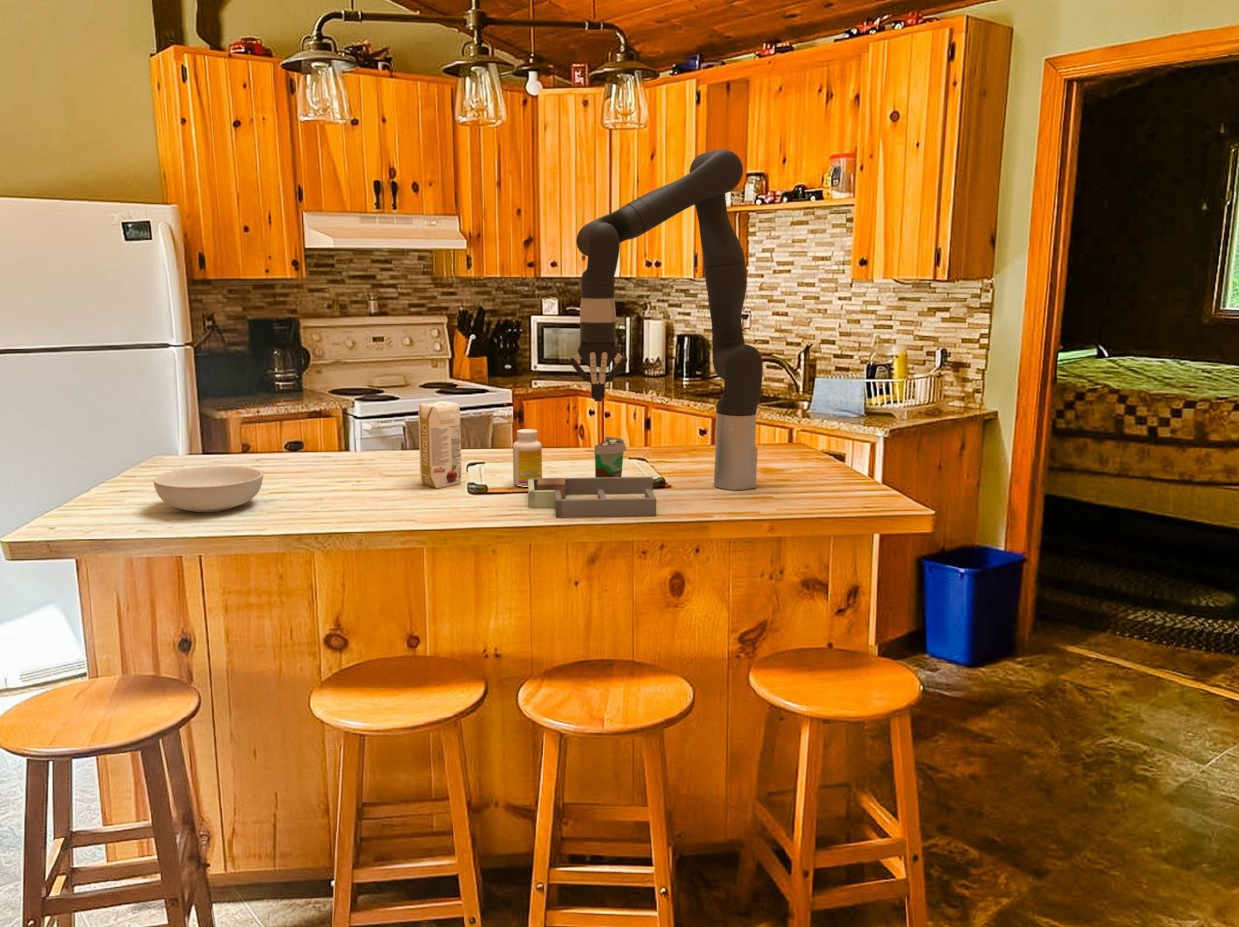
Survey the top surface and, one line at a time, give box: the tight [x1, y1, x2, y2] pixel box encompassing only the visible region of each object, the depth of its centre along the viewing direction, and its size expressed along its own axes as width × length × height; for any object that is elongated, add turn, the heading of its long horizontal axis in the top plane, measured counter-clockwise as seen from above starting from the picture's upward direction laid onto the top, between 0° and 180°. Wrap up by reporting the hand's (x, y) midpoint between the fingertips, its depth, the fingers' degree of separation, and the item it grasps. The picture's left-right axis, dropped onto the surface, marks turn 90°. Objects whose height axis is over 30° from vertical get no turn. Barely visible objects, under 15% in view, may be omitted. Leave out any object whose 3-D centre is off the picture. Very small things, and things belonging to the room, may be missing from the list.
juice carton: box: [417, 400, 462, 489], centre depth 219 cm, size 8×9×19 cm
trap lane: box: [527, 476, 658, 518], centre depth 204 cm, size 28×21×4 cm
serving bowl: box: [153, 465, 264, 513], centre depth 198 cm, size 21×21×7 cm
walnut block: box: [537, 477, 566, 499], centre depth 209 cm, size 6×6×4 cm
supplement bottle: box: [512, 428, 543, 486], centre depth 220 cm, size 7×7×13 cm
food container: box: [593, 436, 627, 477], centre depth 223 cm, size 12×6×10 cm, turn 168°
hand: (597, 400), depth 205 cm, fingers closed
